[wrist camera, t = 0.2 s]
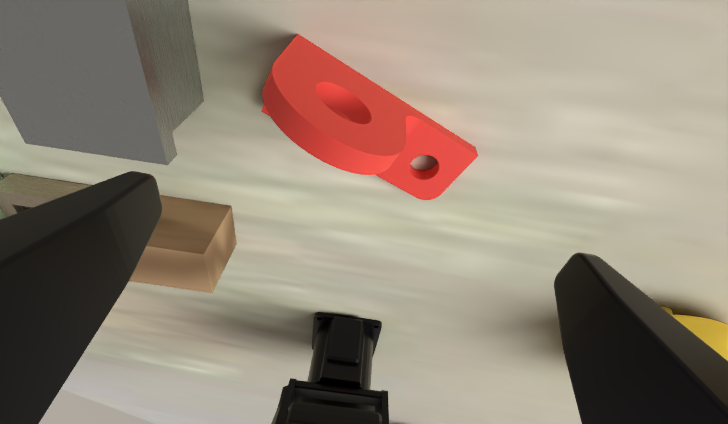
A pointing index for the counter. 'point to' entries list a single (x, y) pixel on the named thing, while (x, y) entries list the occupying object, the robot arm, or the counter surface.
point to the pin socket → (31, 192)
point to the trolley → (99, 74)
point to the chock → (188, 245)
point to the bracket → (359, 122)
